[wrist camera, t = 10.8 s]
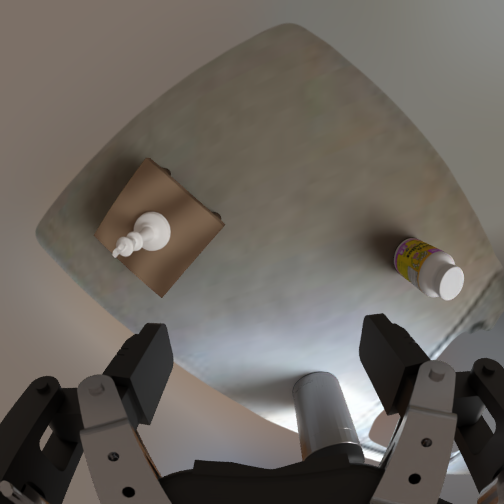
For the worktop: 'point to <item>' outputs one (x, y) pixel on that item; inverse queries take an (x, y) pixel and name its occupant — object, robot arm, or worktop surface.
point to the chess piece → (145, 235)
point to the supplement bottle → (428, 269)
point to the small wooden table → (176, 213)
